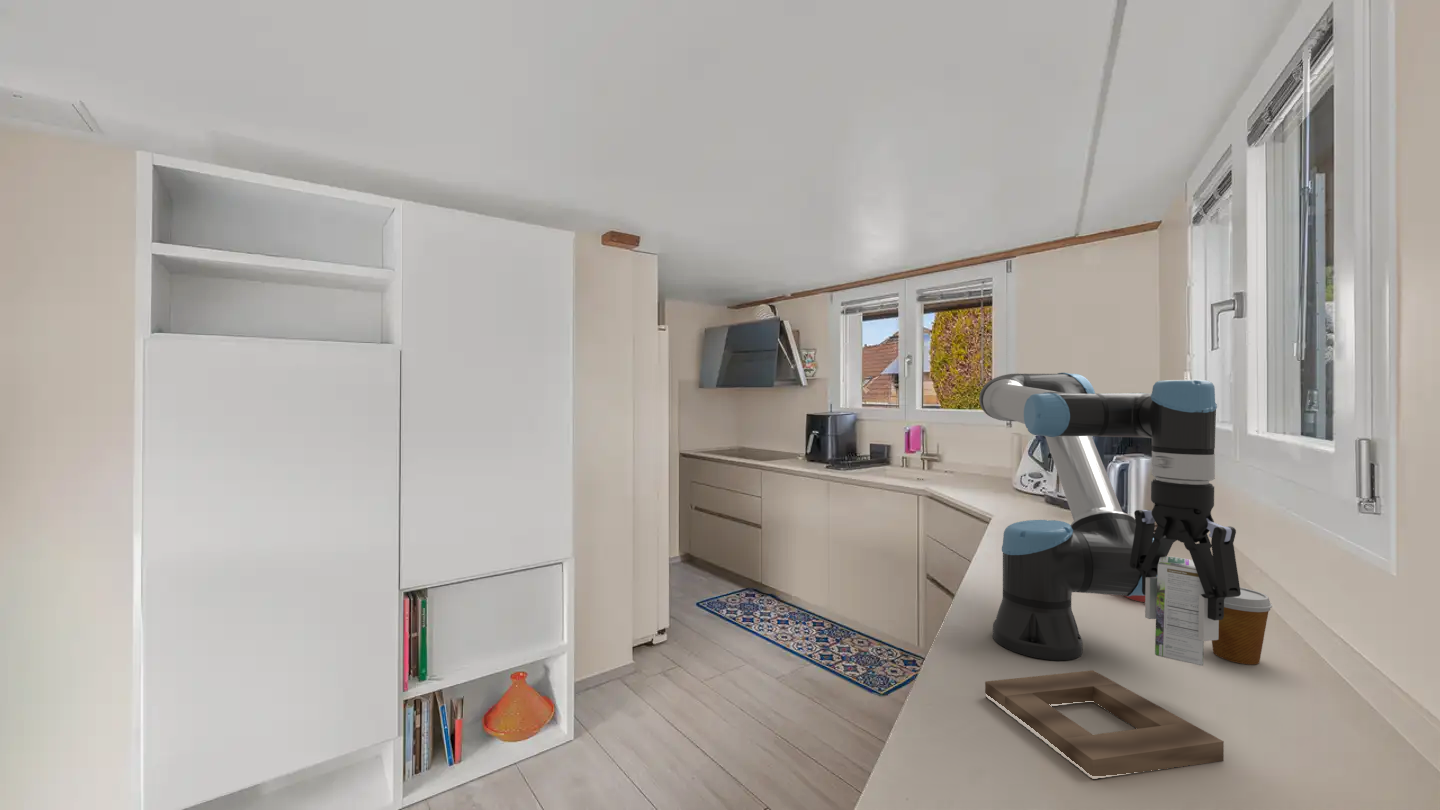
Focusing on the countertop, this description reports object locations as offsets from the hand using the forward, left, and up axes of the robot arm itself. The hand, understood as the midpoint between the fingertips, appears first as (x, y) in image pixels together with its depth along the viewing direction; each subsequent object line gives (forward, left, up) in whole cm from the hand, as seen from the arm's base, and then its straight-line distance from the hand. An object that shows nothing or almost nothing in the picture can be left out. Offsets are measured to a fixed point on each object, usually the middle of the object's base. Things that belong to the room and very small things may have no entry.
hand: (1179, 627), depth 87 cm
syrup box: (0, 0, -4) cm, 4 cm away
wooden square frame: (+2, -18, -12) cm, 22 cm away
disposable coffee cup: (-12, +27, -12) cm, 32 cm away
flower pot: (-42, +40, -12) cm, 59 cm away
